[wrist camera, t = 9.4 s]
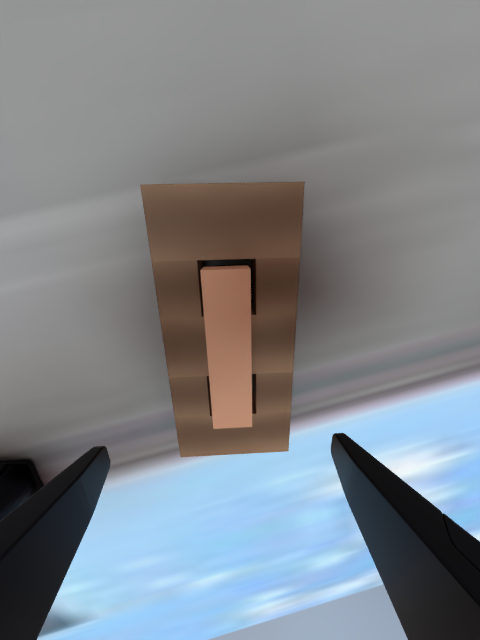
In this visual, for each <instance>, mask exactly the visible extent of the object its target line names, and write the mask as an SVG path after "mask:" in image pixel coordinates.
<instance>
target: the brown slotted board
mask: <svg viewBox="0 0 480 640" xmlns="http://www.w3.org/2000/svg"><path fill="white" fill-rule="evenodd" d="M304 183H305V182H267V183H210V184H153V185H140V186H141V192H142V199H143V206H144V213H145V219H146V226H147V233H148V240H149V246H150V253H151V260H152V267H153V273H154V280H155V287H156V294H157V301H158V307H159V314H160V321H161V328H162V334H163V341H164V348H165V355H166V361H167V368H168V375H169V382H170V388H171V395H172V402H173V409H174V415H175V422H176V429H177V436H178V443H179V449H180V456H181V457H192V456H210V455H228V454H246V453H265V452H283V451H288V448H289V432H290V415H291V398H292V382H293V365H294V349H295V332H296V315H297V299H298V282H299V266H300V249H301V233H302V216H303V199H304ZM226 259H252V304H251V356H252V374H253V392H252V427H241V428H222V429H213V418H212V406H211V394H210V382H209V370H208V358H207V346H206V333H205V321H204V309H203V297H202V285H201V273H200V270H201V269H202V268H203V263H202V260H226Z"/></svg>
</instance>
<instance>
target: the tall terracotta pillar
mask: <svg viewBox="0 0 480 640" xmlns="http://www.w3.org/2000/svg"><path fill="white" fill-rule="evenodd" d="M200 273H201V285H202V297H203V309H204V321H205V333H206V346H207V358H208V370H209V382H210V394H211V406H212V418H213V429H222V428H241V427H252V356H251V269H250V267H249V266H248V265H247V266H215V267H203V268H202V269H201V270H200Z"/></svg>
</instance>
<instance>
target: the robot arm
mask: <svg viewBox="0 0 480 640" xmlns="http://www.w3.org/2000/svg"><path fill="white" fill-rule="evenodd" d="M331 454H332V458H333V461H334V464H335V467H336V470H337V472H338V475H339V478H340V481H341V484H342V487H343V490H344V493H345V496H346V499H347V501H348V504H349V506H350V508H351V511H352V513H353V515H354V517H355V520H356V522H357V524H358V526H359V529H360V531H361V533H362V536H363V538H364V540H365V542H366V545H367V547H368V549H369V552H370V554H371V556H372V558H373V561H374V563H375V565H376V568H377V570H378V572H379V574H380V577H381V579H382V581H383V583H384V585H385V588H386V590H387V593H388V595H389V597H390V599H391V602H392V604H393V606H394V609H395V611H396V613H397V615H398V618H399V620H400V622H401V625H402V627H403V629H404V631H405V634H406V636H407V638H408V640H480V542H479V541H478V540H477V539H476V538H474V537H473V536H472V535H471V534H469V533H468V532H467V531H465V530H464V529H463V528H462V527H460V526H459V525H458V524H456V523H455V522H454V521H453V520H452V519H450V518H449V517H448V516H447V515H445V514H442V512H441V511H440V510H439V509H438V508H436V507H435V506H434V505H433V504H431V503H430V502H429V501H428V500H427V499H425V498H424V497H423V496H422V495H420V494H419V493H418V492H417V491H415V490H414V489H413V488H412V487H410V486H409V485H408V484H407V483H405V482H404V481H403V480H402V479H400V478H399V477H398V476H397V475H395V474H394V473H393V472H392V471H390V470H389V469H388V468H387V467H385V466H384V465H383V464H382V463H380V462H379V461H378V460H377V459H376V458H374V457H373V456H372V455H371V454H369V453H368V452H367V451H366V450H364V449H363V448H362V447H361V446H359V445H358V444H357V443H356V442H354V441H353V440H352V439H351V438H349V437H348V436H347V435H346V434H344V433H335V434H333V437H332V444H331ZM109 468H110V458H109V455H108V451H107V448H106V447H105V446H95V447H93V448H91V449H90V450H89V451H88V452H86V453H85V454H84V455H83V456H81V457H80V458H79V459H78V460H76V461H75V462H74V463H73V464H71V465H70V466H69V467H67V468H66V469H65V470H64V471H62V472H61V473H60V474H59V475H57V476H56V477H55V478H54V479H52V480H51V481H50V482H49V483H47V484H46V485H45V486H44V487H43V486H42V484H41V482H40V479H39V477H38V475H37V473H36V470H35V468H34V466H33V464H32V462H31V461H29V460H18V461H0V640H37V638H38V635H39V633H40V631H41V629H42V626H43V624H44V622H45V620H46V618H47V615H48V613H49V611H50V609H51V607H52V604H53V602H54V600H55V598H56V595H57V593H58V591H59V589H60V587H61V584H62V582H63V580H64V578H65V576H66V573H67V571H68V569H69V567H70V564H71V562H72V560H73V558H74V556H75V553H76V551H77V549H78V547H79V545H80V542H81V540H82V538H83V536H84V533H85V531H86V529H87V527H88V525H89V522H90V520H91V518H92V515H93V513H94V510H95V508H96V505H97V502H98V499H99V497H100V494H101V491H102V488H103V485H104V482H105V480H106V477H107V474H108V471H109Z"/></svg>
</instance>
